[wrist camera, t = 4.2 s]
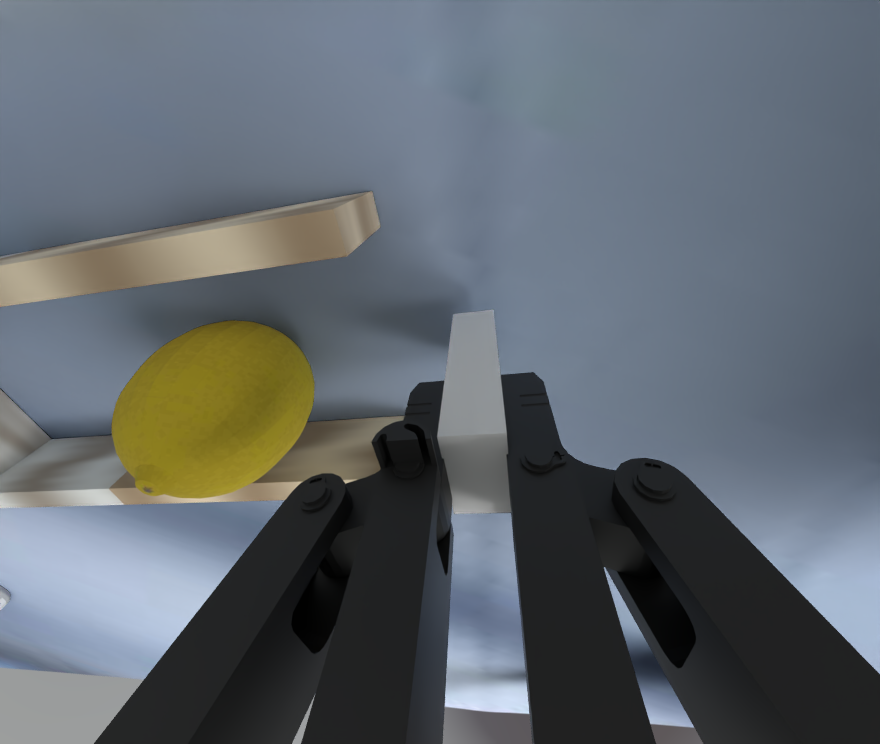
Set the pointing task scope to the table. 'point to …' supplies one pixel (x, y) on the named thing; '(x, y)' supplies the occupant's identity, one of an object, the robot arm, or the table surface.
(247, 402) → the lemon
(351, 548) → the robot arm
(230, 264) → the corral
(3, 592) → the energy drink
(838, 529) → the table surface
